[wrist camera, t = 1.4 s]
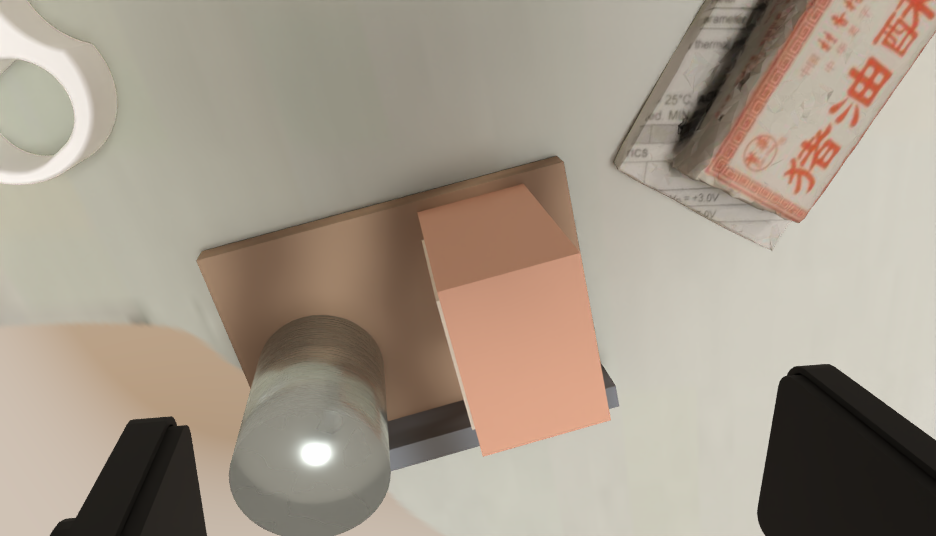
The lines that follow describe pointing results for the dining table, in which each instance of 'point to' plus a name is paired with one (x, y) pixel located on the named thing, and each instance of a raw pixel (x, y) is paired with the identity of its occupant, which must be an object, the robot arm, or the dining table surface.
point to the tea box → (514, 318)
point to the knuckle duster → (79, 72)
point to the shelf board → (374, 299)
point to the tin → (314, 431)
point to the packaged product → (770, 104)
